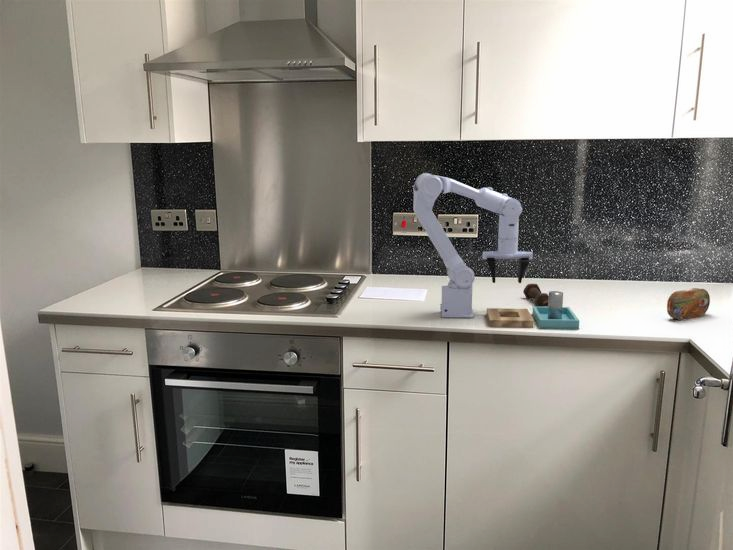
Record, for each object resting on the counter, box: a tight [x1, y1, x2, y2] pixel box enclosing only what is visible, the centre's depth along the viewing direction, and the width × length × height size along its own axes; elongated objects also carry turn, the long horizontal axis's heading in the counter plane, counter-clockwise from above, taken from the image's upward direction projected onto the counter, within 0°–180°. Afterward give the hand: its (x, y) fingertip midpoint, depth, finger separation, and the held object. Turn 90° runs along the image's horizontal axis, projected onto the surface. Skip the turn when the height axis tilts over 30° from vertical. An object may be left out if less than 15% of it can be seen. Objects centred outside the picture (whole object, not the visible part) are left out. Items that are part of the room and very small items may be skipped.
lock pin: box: [548, 290, 564, 319], centre depth 179 cm, size 4×4×8 cm
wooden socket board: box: [486, 307, 534, 329], centre depth 181 cm, size 12×12×2 cm
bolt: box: [523, 283, 549, 307], centre depth 198 cm, size 6×5×15 cm
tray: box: [531, 306, 580, 330], centre depth 180 cm, size 11×14×2 cm
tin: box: [666, 287, 711, 321], centre depth 181 cm, size 15×3×8 cm, turn 114°
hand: (506, 282), depth 188 cm, fingers open, 7 cm apart
